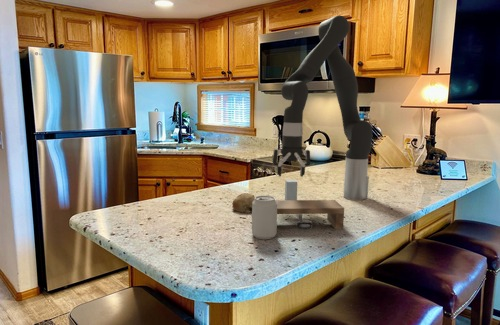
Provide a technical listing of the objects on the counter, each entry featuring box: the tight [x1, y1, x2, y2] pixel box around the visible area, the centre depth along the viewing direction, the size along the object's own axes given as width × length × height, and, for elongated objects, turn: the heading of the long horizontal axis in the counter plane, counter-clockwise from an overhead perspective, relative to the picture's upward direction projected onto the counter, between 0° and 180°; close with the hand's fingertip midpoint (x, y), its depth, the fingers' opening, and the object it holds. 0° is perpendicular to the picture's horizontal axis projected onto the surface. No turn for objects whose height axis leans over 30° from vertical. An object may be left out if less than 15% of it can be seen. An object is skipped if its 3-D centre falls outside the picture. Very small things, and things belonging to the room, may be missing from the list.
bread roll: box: [232, 192, 256, 214], centre depth 139 cm, size 10×10×8 cm
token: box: [296, 219, 313, 230], centre depth 120 cm, size 5×5×2 cm
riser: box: [275, 199, 345, 230], centre depth 121 cm, size 24×10×7 cm, turn 94°
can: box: [251, 194, 278, 240], centre depth 110 cm, size 8×8×12 cm
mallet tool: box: [284, 179, 303, 221], centre depth 135 cm, size 4×21×10 cm, turn 4°
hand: (290, 176), depth 143 cm, fingers open, 8 cm apart
